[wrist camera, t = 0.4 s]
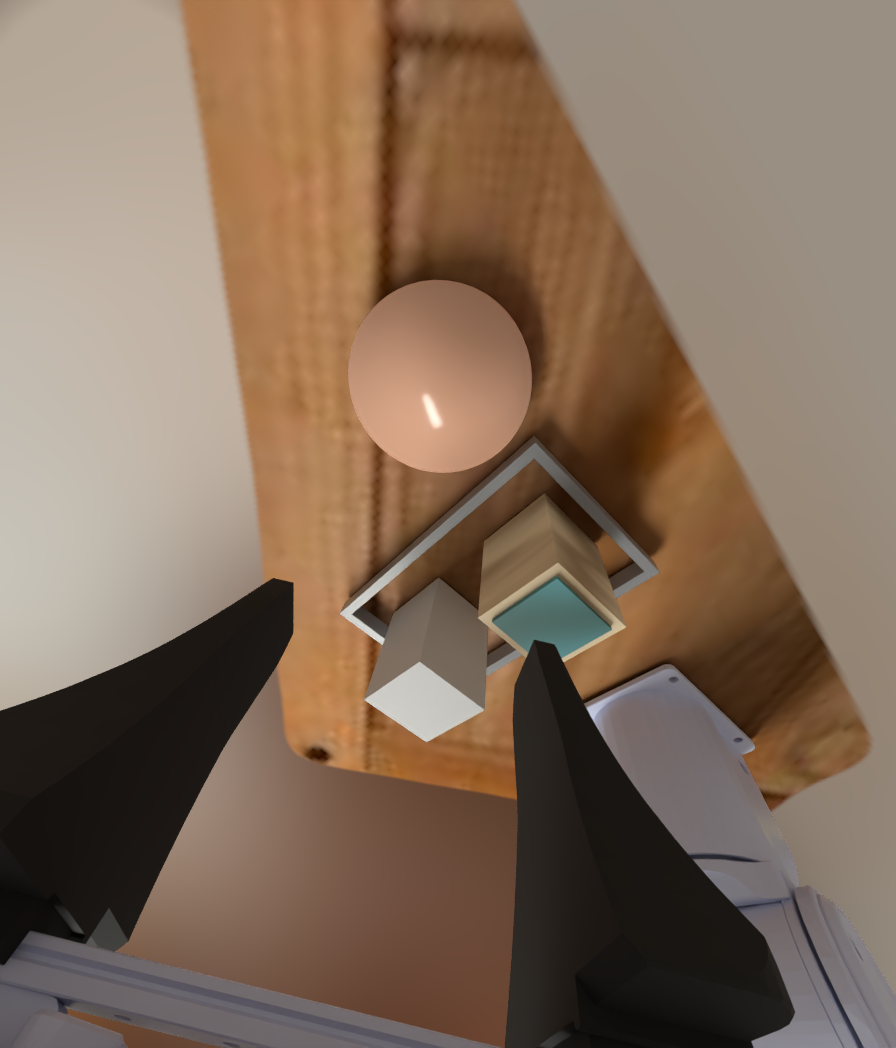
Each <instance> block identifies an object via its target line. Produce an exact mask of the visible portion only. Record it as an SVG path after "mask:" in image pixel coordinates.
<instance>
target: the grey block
mask: <svg viewBox="0 0 896 1048" xmlns="http://www.w3.org/2000/svg"><path fill="white" fill-rule="evenodd" d="M487 645H488V626H487V625H486V624H484V623H483V622H482V621H481V620H480V619H478V610H477V609H476V608H475V607H474V606H472V605H471V604H470V603H469V602H468V601H466V600H465V599H464V598H463V597H462V596H460V595H459V594H458V593H457V592H456V591H454V590H453V589H452V588H451V587H450V586H448V585H447V584H446V583H445V582H444V581H442V580H441V579H440V578H439V577H438V578H437V579H436V580H435V581H433V582H432V583H431V584H430V585H428V586H427V587H426V588H425V589H423V590H422V591H421V592H420V593H418V594H417V595H416V596H415V597H413V598H412V599H411V600H409V601H408V602H407V603H406V604H404V605H403V606H402V607H401V608H399V609H398V610H397V611H396V612H394V613H393V616H392V619H391V622H390V625H389V628H388V631H387V634H386V637H385V639H384V642H383V645H382V648H381V651H380V654H379V657H378V660H377V663H376V666H375V669H374V672H373V675H372V678H371V681H370V684H369V687H368V690H367V693H366V696H365V698H364V700H365V701H367V702H368V703H369V704H371V705H372V706H374V707H375V708H377V709H378V710H380V711H381V712H383V713H384V714H386V715H387V716H389V717H390V718H392V719H393V720H395V721H396V722H398V723H399V724H400V725H402V726H403V727H405V728H406V729H408V730H409V731H411V732H412V733H414V734H415V735H417V736H418V737H420V738H421V739H423V740H424V741H426V742H428V741H429V740H431V739H433V738H435V737H437V736H439V735H440V734H442V733H444V732H446V731H448V730H449V729H451V728H453V727H455V726H457V725H458V724H460V723H462V722H464V721H466V720H467V719H469V718H471V717H473V716H475V715H477V714H478V713H480V712H482V711H484V710H485V690H486V667H487Z"/></svg>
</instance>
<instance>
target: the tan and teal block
mask: <svg viewBox="0 0 896 1048" xmlns="http://www.w3.org/2000/svg"><path fill="white" fill-rule="evenodd" d="M478 619H480V620H481V621H482V622H483V623H484V624H486V625H487V626H488V627H489V628H490V629H492V630H493V631H494V632H495V633H497V634H498V635H499V636H500V637H501V638H503V639H504V640H505V641H506V642H507V643H509V644H510V645H511V646H512V647H513V648H515V649H516V650H517V651H518V652H520V653H521V654H522V655H523V656H524V657H527V655H528V652H529V650H530V648H531V645H532V643H533V640H538V641H543V642H547V643H551V644H555V646H556V648H557V650H558V652H559V654H560V656H561V658H562V660H563V662H565V661H566V660H568V659H570V658H572V657H574V656H575V655H577V654H579V653H581V652H583V651H584V650H586V649H588V648H590V647H592V646H593V645H595V644H597V643H599V642H601V641H602V640H604V639H606V638H608V637H609V636H611V635H613V634H615V633H617V632H618V631H620V630H622V629H624V628H626V625H625V622H624V619H623V616H622V614H621V611H620V608H619V605H618V603H617V600H616V597H615V594H614V591H613V589H612V586H611V583H610V580H609V578H608V575H607V572H606V569H605V567H604V564H603V561H602V558H601V555H600V553H599V550H598V547H597V545H596V544H595V543H594V542H593V541H592V540H591V539H590V538H589V537H588V536H587V535H586V534H585V533H584V532H583V531H582V530H581V529H580V528H579V527H578V526H577V525H576V524H575V523H574V522H573V521H572V520H571V519H570V518H569V517H568V516H567V515H566V514H565V513H564V512H563V511H562V510H561V509H560V508H559V507H558V506H557V505H556V504H555V503H554V502H553V501H552V500H551V499H550V498H549V497H548V496H547V495H546V494H545V493H544V494H543V495H541V496H540V497H539V498H538V499H536V500H535V501H534V502H533V503H531V504H530V505H529V506H528V507H526V508H525V509H524V510H523V511H521V512H520V513H519V514H518V515H516V516H515V517H514V518H513V519H511V520H510V521H509V522H507V523H506V524H505V525H504V526H502V527H501V528H500V529H499V530H497V531H496V532H495V533H494V534H492V535H491V536H490V537H489V538H487V539H486V540H485V541H484V548H483V560H482V572H481V585H480V597H479V609H478Z"/></svg>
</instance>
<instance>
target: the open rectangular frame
mask: <svg viewBox="0 0 896 1048" xmlns="http://www.w3.org/2000/svg"><path fill="white" fill-rule="evenodd" d="M533 459H535V460H536V461H537V462H538V463H539V464H540V465H541V466H542V467H543V468H544V469H545V470H546V471H547V472H548V473H549V474H550V475H551V476H552V477H553V478H554V479H555V480H556V481H557V482H558V483H559V485H560V486H561V487H562V488H563V489H564V490H565V491H566V492H567V493H568V494H569V495H570V496H571V497H572V498H573V499H574V500H575V501H576V502H577V503H578V504H579V505H580V506H581V507H582V508H583V509H584V510H585V511H586V512H587V513H588V514H589V515H590V516H591V517H592V518H593V519H594V520H595V521H596V522H597V523H598V524H599V526H600V527H601V528H602V529H603V530H604V531H605V532H606V533H607V534H608V535H609V536H610V537H611V538H612V539H613V540H614V541H615V542H616V543H617V544H618V545H619V546H620V547H621V548H622V549H623V550H624V551H625V552H626V553H627V554H628V555H629V556H630V557H631V558H632V559H633V560H634V561H635V563H633V564H631V565H630V566H628V567H627V568H625V569H623V570H622V571H620V572H619V573H617V574H615V575H614V576H612V577H611V578H609V580H610V583H611V586H612V589H613V591H614V594H615V597H616V598H618V597H620V596H621V595H623V594H625V593H626V592H628V591H630V590H631V589H633V588H635V587H636V586H638V585H640V584H641V583H643V582H645V581H646V580H648V579H650V578H651V577H653V576H655V575H656V574H658V573H660V572H659V570H658V568H657V566H656V564H655V563H654V561H653V560H652V559H651V557H650V556H649V555H648V554H647V553H646V552H645V551H644V550H643V549H642V548H641V547H640V546H639V545H638V544H637V543H636V542H635V541H634V540H633V539H632V538H631V537H630V535H629V534H628V533H627V532H626V531H625V530H624V529H623V528H622V527H621V526H620V525H619V524H618V523H617V522H616V521H615V520H614V519H613V518H612V517H611V516H610V515H609V514H608V512H607V511H606V510H605V509H604V508H603V507H602V506H601V505H600V504H599V503H598V502H597V501H596V500H595V499H594V498H593V497H592V496H591V495H590V494H589V493H588V492H587V490H586V489H585V488H584V487H583V486H582V485H581V484H580V483H579V482H578V481H577V480H576V479H575V478H574V477H573V476H572V475H571V474H570V473H569V472H568V471H567V470H566V468H565V467H564V466H563V465H562V464H561V463H560V462H559V461H558V460H557V459H556V458H555V457H554V456H553V455H552V454H551V453H550V452H549V451H548V450H547V449H546V448H545V446H544V445H543V444H542V443H541V442H540V441H539V440H538V439H537V438H536V437H535V436H533V437H532V438H531V439H529V440H528V441H527V442H526V443H525V444H524V445H523V446H521V447H520V448H519V449H518V450H517V451H516V452H515V453H514V454H512V455H511V456H510V457H509V458H508V459H507V460H506V461H505V462H503V463H502V464H501V465H500V466H499V467H498V468H497V469H495V470H494V471H493V472H492V473H491V474H490V475H489V476H488V477H486V478H485V479H484V480H483V481H482V482H481V483H480V484H479V485H477V486H476V487H475V488H474V489H473V490H472V491H471V492H469V493H468V494H467V495H466V496H465V497H464V498H463V499H462V500H460V501H459V502H458V503H457V504H456V505H455V506H454V507H453V508H451V509H450V510H449V511H448V512H447V513H446V514H445V515H443V516H442V517H441V518H440V519H439V520H438V521H437V522H436V523H434V524H433V525H432V526H431V527H430V528H429V529H428V530H427V531H425V532H424V533H423V534H422V535H421V536H420V537H419V538H417V539H416V540H415V541H414V542H413V543H412V544H411V545H410V546H408V547H407V548H406V549H405V550H404V551H403V552H402V553H400V554H399V555H398V556H397V557H396V558H395V559H394V560H393V561H391V562H390V563H389V564H388V565H387V566H386V567H385V568H384V569H382V570H381V571H380V572H379V573H378V574H377V575H376V576H374V577H373V578H372V579H371V580H370V581H369V582H368V583H367V584H365V585H364V586H363V587H362V588H361V589H360V590H359V591H358V592H356V593H355V594H354V595H353V596H352V597H351V598H350V599H348V600H347V601H346V602H345V604H344V606H343V608H342V610H341V612H340V614H341V615H342V616H344V617H345V618H346V619H348V620H349V621H350V622H352V623H353V624H355V625H356V626H357V627H359V628H360V629H361V630H363V631H364V632H365V633H367V634H368V635H369V636H371V637H372V638H374V639H375V640H376V641H378V642H379V643H380V644H382V645H383V642H384V639H385V637H386V634H387V631H388V628H389V627H388V626H387V625H386V624H384V623H383V622H382V621H380V620H379V619H378V618H376V617H375V616H374V615H372V614H371V613H370V612H368V611H367V610H366V609H365V608H363V607H362V605H363V604H364V603H365V602H367V601H368V600H369V599H370V598H371V597H372V596H374V595H375V594H376V593H377V592H378V591H380V590H381V589H382V588H383V587H384V586H385V585H387V584H388V583H389V582H390V581H391V580H392V579H394V578H395V577H396V576H397V575H398V574H399V573H401V572H402V571H403V570H404V569H405V568H406V567H408V566H409V565H410V564H411V563H412V562H414V561H415V560H416V559H417V558H418V557H419V556H421V555H422V554H423V553H424V552H425V551H426V550H428V549H429V548H430V547H431V546H432V545H433V544H435V543H436V542H437V541H438V540H439V539H440V538H442V537H443V536H444V535H445V534H446V533H448V532H449V531H450V530H451V529H452V528H453V527H455V526H456V525H457V524H458V523H459V522H460V521H462V520H463V519H464V518H465V517H466V516H467V515H469V514H470V513H471V512H472V511H473V510H474V509H476V508H477V507H478V506H479V505H480V504H482V503H483V502H484V501H485V500H486V499H487V498H489V497H490V496H491V495H492V494H493V493H494V492H496V491H497V490H498V489H499V488H500V487H501V486H503V485H504V484H505V483H506V482H507V481H508V480H510V479H511V478H512V477H513V476H514V475H516V474H517V473H518V472H519V471H520V470H521V469H523V468H524V467H525V466H526V465H527V464H528V463H530V462H531V461H532V460H533ZM521 655H522V654H521V653H520V652H518V651H517V650H516V649H515V648H513V647H512V646H511V645H510V644H509V643H506V644H504V645H502V646H501V647H499V648H498V649H496V650H495V651H493V652H491V653H490V654H488V655H487V667H486V676H488V675H489V674H491V673H493V672H494V671H496V670H498V669H499V668H501V667H503V666H504V665H506V664H508V663H509V662H511V661H513V660H514V659H516V658H518V657H519V656H521Z"/></svg>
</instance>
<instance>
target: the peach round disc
mask: <svg viewBox="0 0 896 1048" xmlns="http://www.w3.org/2000/svg"><path fill="white" fill-rule="evenodd" d="M348 379H349V389H350V394H351V399H352V402H353V405H354V408H355V411H356V413H357V415H358V418H359V420H360V422H361V423H362V425H363V427H364V428H365V430H366V432H367V433H368V434H369V435H370V437H371V438H372V439H373V440H374V441H375V442H376V444H377V445H378V446H379V447H380V448H381V449H383V450H384V451H385V452H386V453H388V454H389V455H390V456H392V457H393V458H395V459H396V460H398V461H400V462H402V463H404V464H406V465H408V466H410V467H413V468H416V469H419V470H424V471H429V472H438V473H447V472H457V471H463V470H466V469H470V468H473V467H475V466H477V465H480V464H482V463H484V462H486V461H487V460H489V459H491V458H492V457H494V456H495V455H496V454H497V453H499V452H500V451H501V450H502V449H503V448H504V447H505V446H506V445H507V444H508V443H509V442H510V441H511V439H512V438H513V437H514V435H515V434H516V433H517V431H518V429H519V427H520V426H521V424H522V422H523V419H524V417H525V415H526V412H527V409H528V405H529V401H530V396H531V389H532V370H531V362H530V357H529V354H528V350H527V346H526V344H525V341H524V339H523V336H522V334H521V332H520V330H519V328H518V326H517V325H516V323H515V321H514V320H513V319H512V317H511V316H510V315H509V313H508V312H507V311H506V310H505V309H504V308H503V307H502V306H501V305H500V304H499V303H498V302H497V301H496V300H494V299H493V298H492V297H490V296H489V295H488V294H486V293H484V292H482V291H481V290H479V289H477V288H475V287H472V286H469V285H466V284H464V283H459V282H454V281H448V280H428V281H420V282H416V283H413V284H409V285H406V286H404V287H402V288H400V289H397V290H395V291H394V292H392V293H391V294H389V295H388V296H386V297H385V298H384V299H382V300H381V301H380V302H379V303H378V304H377V305H375V307H374V308H373V309H372V310H371V311H370V312H369V314H368V315H367V316H366V318H365V319H364V321H363V322H362V324H361V325H360V327H359V329H358V332H357V334H356V336H355V338H354V341H353V345H352V348H351V352H350V358H349V367H348Z"/></svg>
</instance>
